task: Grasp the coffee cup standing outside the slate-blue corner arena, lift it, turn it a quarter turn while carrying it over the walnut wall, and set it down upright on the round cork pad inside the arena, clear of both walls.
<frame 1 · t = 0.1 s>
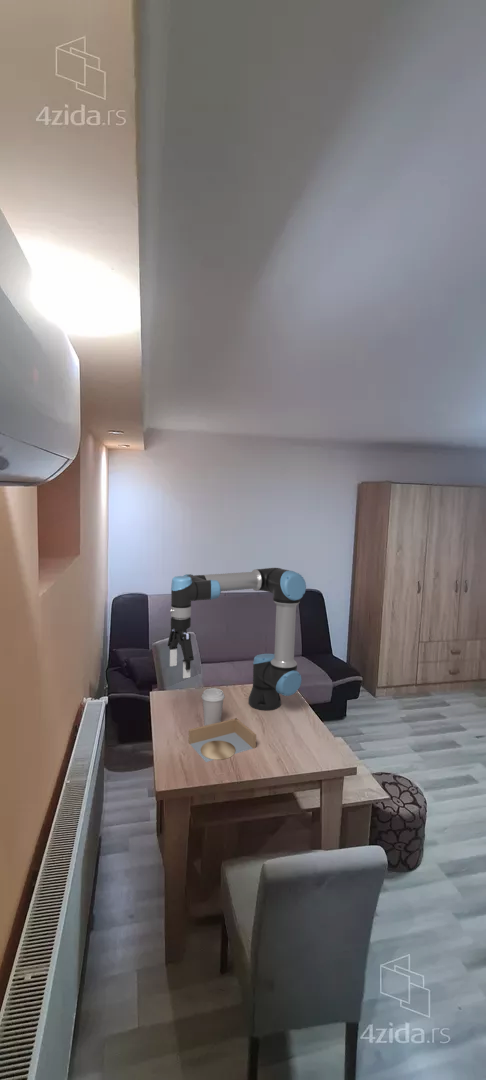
hand: (179, 671, 177), 28 cm above the table, fingers open, 13 cm apart
arena: (221, 747, 176), on the table
coffee cup: (212, 727, 192), on the table
pad: (218, 750, 173), resting on arena
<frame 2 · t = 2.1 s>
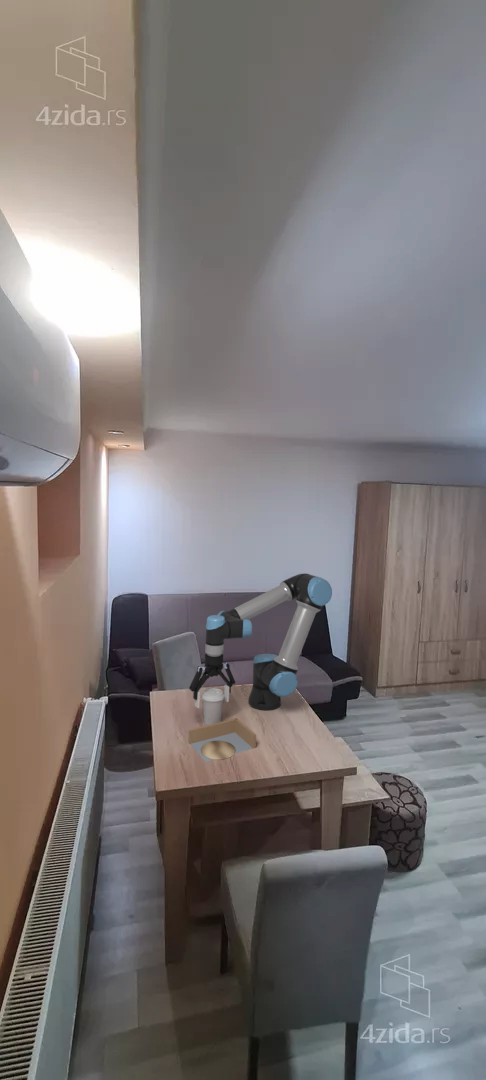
hand: (211, 703, 191), 10 cm above the table, fingers open, 13 cm apart
nothing on the table moved.
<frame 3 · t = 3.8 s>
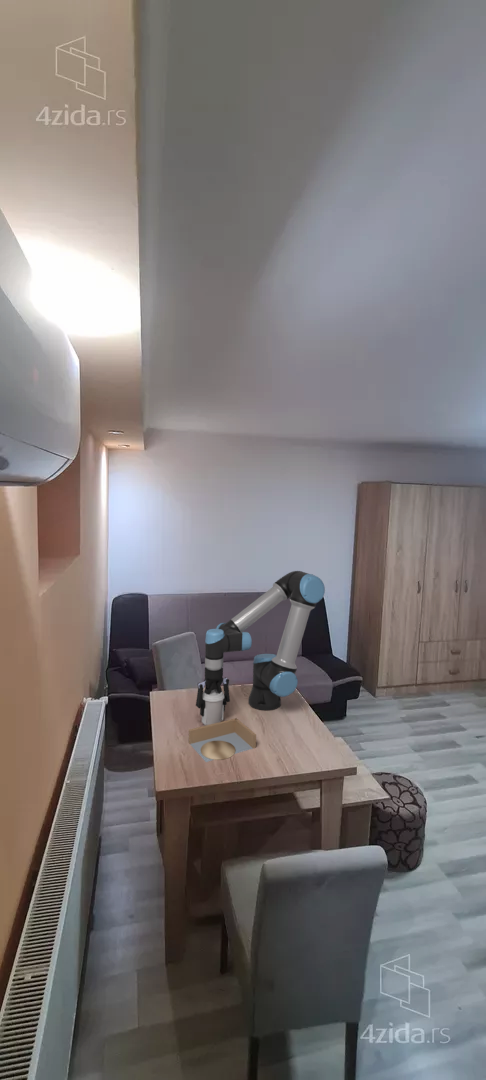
hand: (212, 720, 192), 3 cm above the table, fingers closed on coffee cup, 7 cm apart
coffee cup: (212, 727, 192), on the table, touching gripper
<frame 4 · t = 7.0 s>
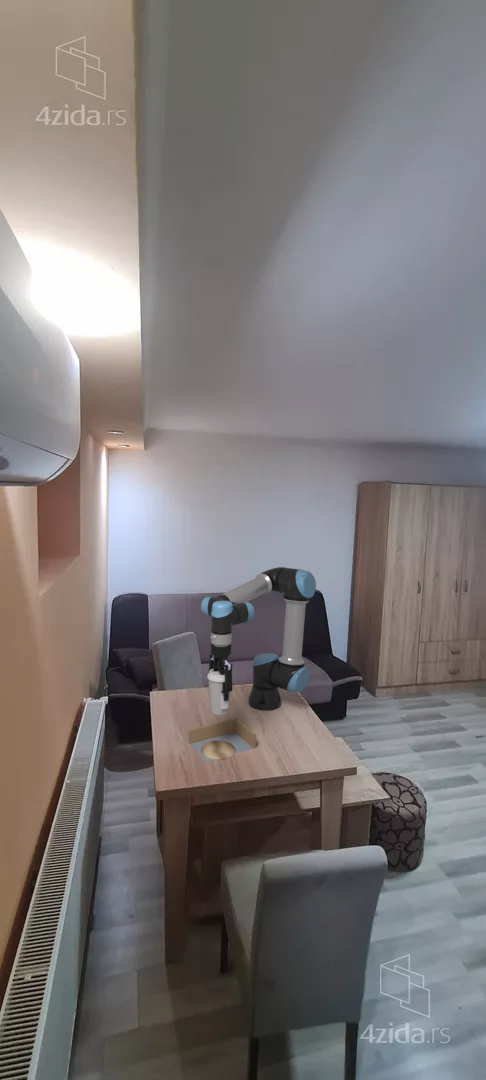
hand: (219, 704, 171), 19 cm above the table, fingers closed on coffee cup, 7 cm apart
coffee cup: (219, 711, 171), point 16 cm above the table, touching gripper
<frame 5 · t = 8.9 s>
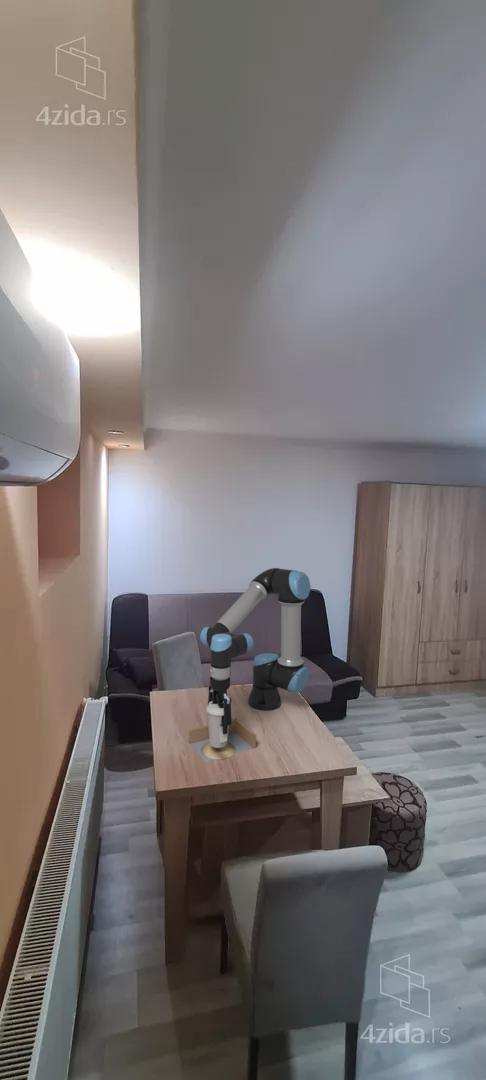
hand: (218, 736, 172), 6 cm above the table, fingers closed on coffee cup, 7 cm apart
coffee cup: (218, 743, 172), point 3 cm above the table, touching gripper
when the fingers open (4 cm above the table, at t = 10.3 s): coffee cup stays where it is, resting on pad.
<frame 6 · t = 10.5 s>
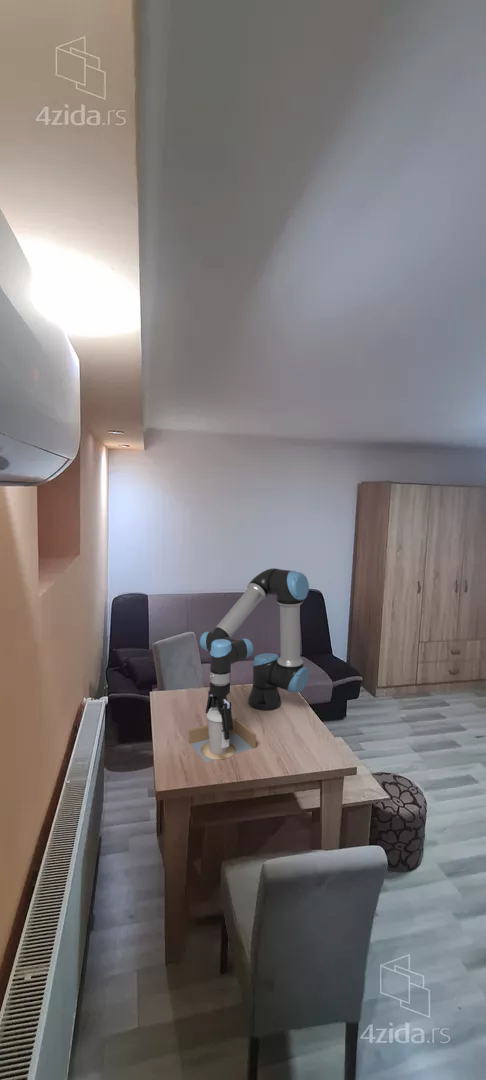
hand: (218, 740, 172), 5 cm above the table, fingers open, 10 cm apart
coffee cup: (218, 750, 172), point 1 cm above the table, touching pad
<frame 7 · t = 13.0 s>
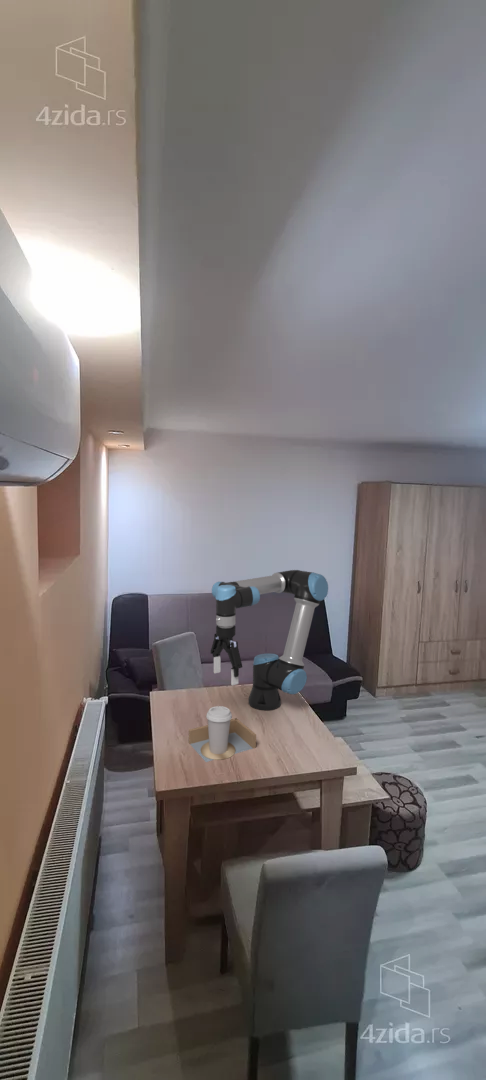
hand: (225, 678, 181), 24 cm above the table, fingers open, 13 cm apart
nothing on the table moved.
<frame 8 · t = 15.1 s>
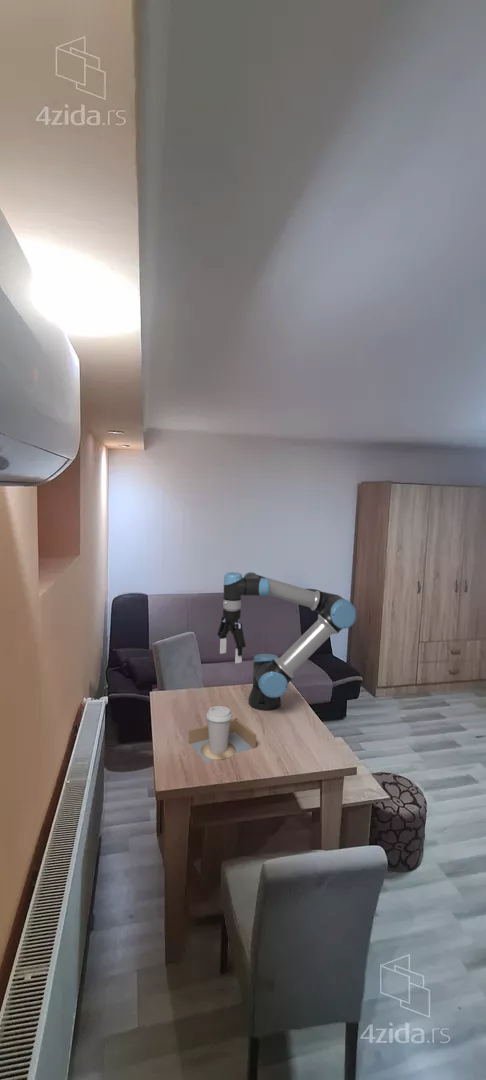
hand: (230, 657, 198), 27 cm above the table, fingers open, 13 cm apart
nothing on the table moved.
at the end: coffee cup inside the target area on the arena (0.7 cm from its centre), point 0.9 cm above the arena's base; coffee cup tilted 0°; the gripper is holding nothing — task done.
